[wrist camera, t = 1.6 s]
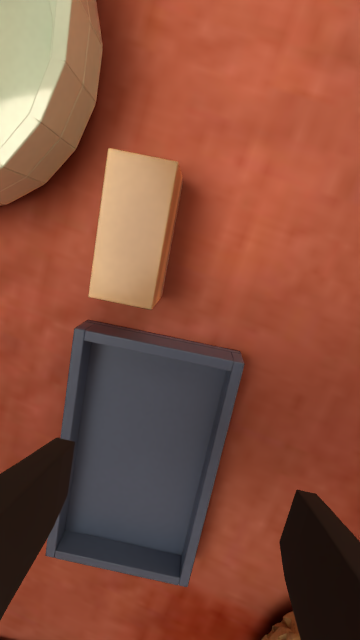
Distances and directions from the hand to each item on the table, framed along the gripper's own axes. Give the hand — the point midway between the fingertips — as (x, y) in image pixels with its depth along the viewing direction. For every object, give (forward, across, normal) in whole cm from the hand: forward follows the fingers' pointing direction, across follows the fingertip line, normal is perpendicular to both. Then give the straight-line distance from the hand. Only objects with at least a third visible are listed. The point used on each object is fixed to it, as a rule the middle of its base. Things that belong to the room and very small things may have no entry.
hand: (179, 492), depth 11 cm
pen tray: (+10, +2, +6) cm, 11 cm away
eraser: (+10, +4, -8) cm, 13 cm away
